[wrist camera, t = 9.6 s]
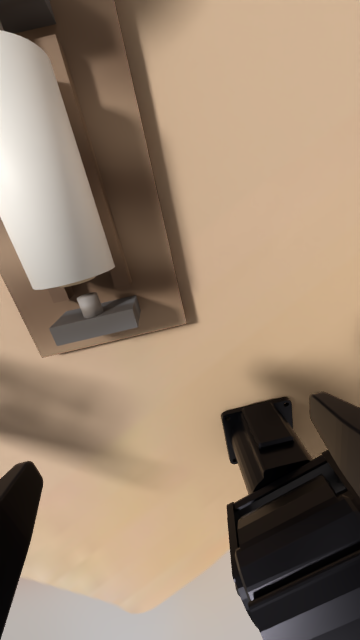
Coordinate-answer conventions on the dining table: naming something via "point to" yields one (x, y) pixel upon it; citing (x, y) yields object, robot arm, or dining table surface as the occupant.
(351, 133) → the dining table surface
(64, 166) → the roll
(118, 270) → the cradle
